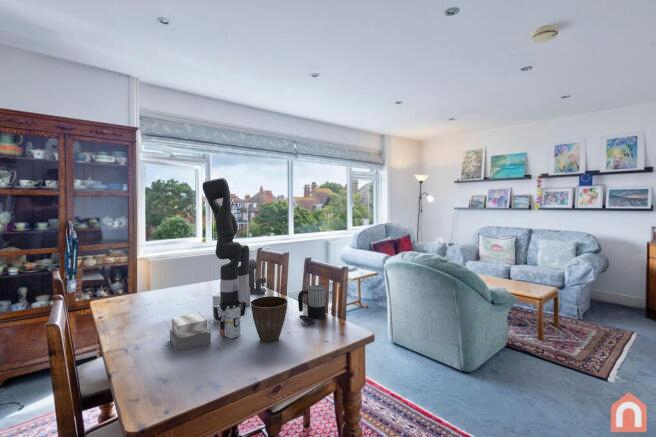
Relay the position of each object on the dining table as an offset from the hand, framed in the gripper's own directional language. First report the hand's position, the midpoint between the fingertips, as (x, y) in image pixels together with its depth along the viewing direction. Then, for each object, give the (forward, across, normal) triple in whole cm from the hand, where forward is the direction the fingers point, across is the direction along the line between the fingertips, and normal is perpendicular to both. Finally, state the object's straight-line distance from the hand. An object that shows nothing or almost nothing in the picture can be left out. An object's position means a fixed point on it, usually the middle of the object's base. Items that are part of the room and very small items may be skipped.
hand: (230, 327), depth 142 cm
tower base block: (+4, +16, -2) cm, 16 cm away
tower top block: (-1, +16, -2) cm, 16 cm away
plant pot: (+3, -12, +14) cm, 19 cm away
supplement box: (+3, -3, -19) cm, 20 cm away
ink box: (+3, 0, 0) cm, 3 cm away
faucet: (+3, -33, -60) cm, 69 cm away
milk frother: (+3, -39, +4) cm, 39 cm away
